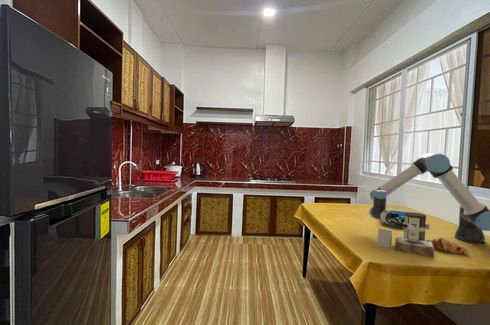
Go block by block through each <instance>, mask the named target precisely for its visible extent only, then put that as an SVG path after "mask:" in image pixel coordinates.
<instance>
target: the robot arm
mask: <svg viewBox="0 0 490 325" xmlns="http://www.w3.org/2000/svg"><path fill="white" fill-rule="evenodd" d="M453 169H454V167H453V166H452V165H451V161H450V159H449V157H448V156H447V155H446V154H443V153H441V152H440V153H439V152H432V153H431V152H430V153H429V152H428V153H425V154H423V155H421V156H420V157H418V158H417V159H415V160H414V161H413V162H411V163H410V166H409V167H406V169H404V170H403V171H401V172H400V173H398V174H397V175H395V176H394V177H392V178H391V179H389V180H388V181H386V182H385V183H383V184H382V185H380V186H379V187H377V188H375V189H373V190H371V191H370V193H369V197H370V199H371V200H372V201H373V204H372V205H373V206H372V207H370V209H369V211H368V213H369V216H370V217H371V218H373V219H375V220H379V221H382V222H384V223H385V222H386V223H389V224H392V225H395V226H394V227H396V226H397V227H398V228H399V229H404V228H407V229H410V230H414V225H411V224H408V223H405V222H404V221H405V218H403V217H400V216H399V215H398V214H397V213H394V212H391V211H388V210H389V209H387V197H388V196H389V195H390V194H392V193H393V192H395V191H396V190H398V189H400V188H401V187H403V186H404V185H406V184H407V183H409V182H410V181H412V180H413V179H415V178H416V177H418V176H419V175H420V176H421V175H423V174H425V173H428V172H429V174H430V175H431V176H432V177H433V178H434V179H438V181H439V182H440V183H441V184H442V185H443V186H444V188H445V189H446V190H447V191H448V192H449V193H450V194H451V196H452V197H453V198H454V200H456V202H457V203H458V204H459V212H458V213H459V215H458V226H457V229H456V231H455V233H454V238H456V239H457V238H458V240H461V241H463V240H464V242H469V243H474V242H476V243H477V244H482V243H481V242H485V243H486V237H485V234H484V232H485V231H486V232H490V208H488V206H487V205H486V204H485V203H483V202H479V200H478V199H477V198H476V197H475V196H474V194H473V193H472V192H471V191H470V189H468V188H467V186H466V185H465V184H464V183H463V182H462V180H461V179H460V177H458V175H456V173H455V172H454V170H453ZM386 223H385V224H386ZM399 226H400V227H399ZM402 226H403V227H404V228H403V227H402ZM425 230H429V231H430V230H431V225H430V224H428V223H426V225H425Z"/></svg>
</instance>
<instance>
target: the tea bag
mask: <svg viewBox="0 0 490 325" xmlns="http://www.w3.org/2000/svg"><path fill="white" fill-rule="evenodd" d="M392 234H393V231H392V230H389V229H384V228H378V232H377V241H376V242H377V245H378V246H377V247H380V246H383V247H382V248H385V247H387V248H386V249H389V248H390V249H391V248H392V244H393V242H392V241H393V240H392V239H393V237H392V236H393V235H392Z"/></svg>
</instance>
